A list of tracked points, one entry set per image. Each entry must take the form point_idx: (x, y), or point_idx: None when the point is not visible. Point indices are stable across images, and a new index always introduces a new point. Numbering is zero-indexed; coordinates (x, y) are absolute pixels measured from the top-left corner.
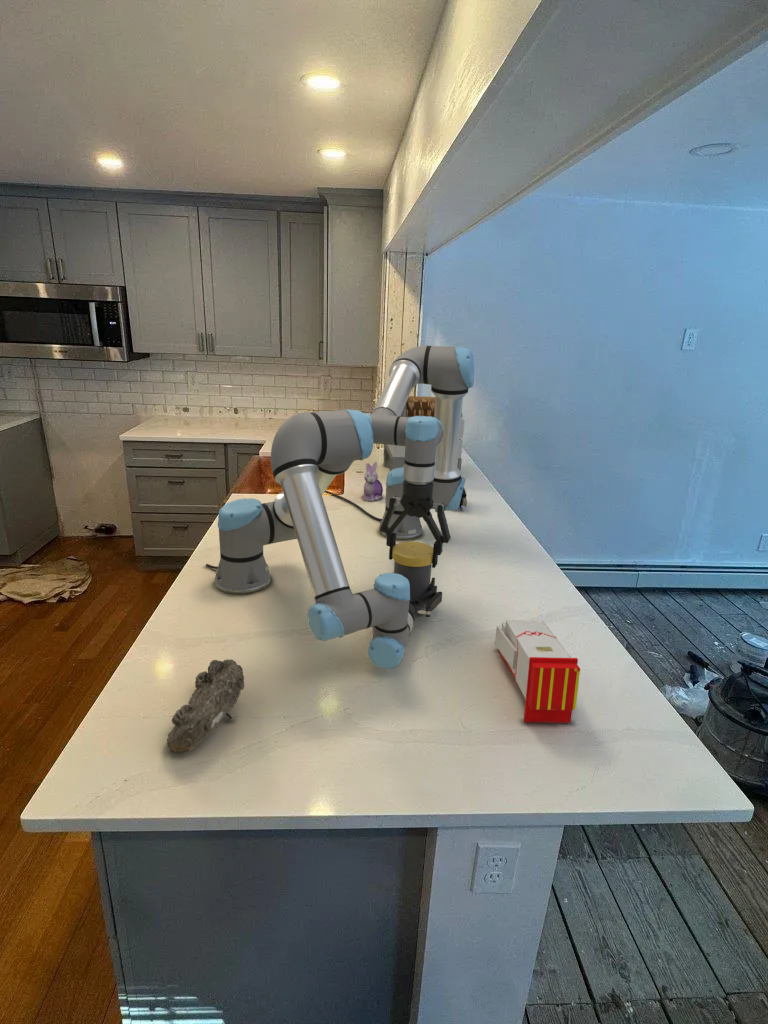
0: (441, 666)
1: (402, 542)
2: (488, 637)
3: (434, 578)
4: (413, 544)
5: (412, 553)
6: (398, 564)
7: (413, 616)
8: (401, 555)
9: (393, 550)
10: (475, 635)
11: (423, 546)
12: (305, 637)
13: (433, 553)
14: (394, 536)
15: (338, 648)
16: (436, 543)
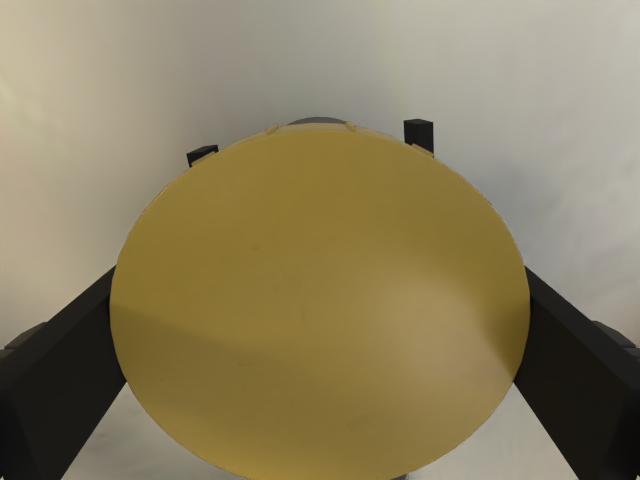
0: (482, 445)
1: (143, 231)
2: (621, 281)
3: (431, 133)
4: (275, 234)
5: (334, 420)
6: None
7: (406, 474)
8: (262, 477)
9: (161, 427)
10: (577, 286)
11: (393, 237)
12: (113, 458)
13: (530, 398)
14: (46, 431)
15: (215, 467)
16: (628, 475)
